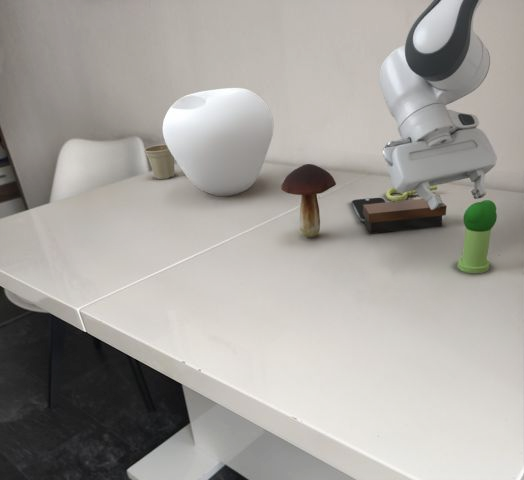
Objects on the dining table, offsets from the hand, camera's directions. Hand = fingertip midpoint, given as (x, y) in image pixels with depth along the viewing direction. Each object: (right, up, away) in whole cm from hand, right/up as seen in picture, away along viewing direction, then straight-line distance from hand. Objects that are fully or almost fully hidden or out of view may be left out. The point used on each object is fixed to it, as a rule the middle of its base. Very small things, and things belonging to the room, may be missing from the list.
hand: (459, 202), depth 94 cm
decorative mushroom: (-24, -2, +20) cm, 32 cm away
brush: (-4, +1, +21) cm, 22 cm away
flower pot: (-65, +28, +73) cm, 101 cm away
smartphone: (-9, +6, +30) cm, 32 cm away
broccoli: (+3, -11, +1) cm, 12 cm away
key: (+1, +12, +37) cm, 39 cm away
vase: (-44, +18, +54) cm, 72 cm away
